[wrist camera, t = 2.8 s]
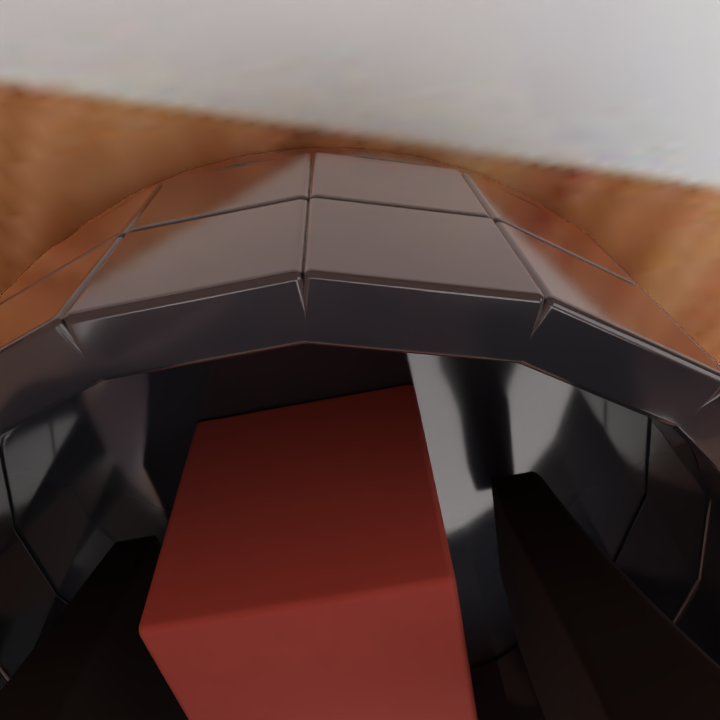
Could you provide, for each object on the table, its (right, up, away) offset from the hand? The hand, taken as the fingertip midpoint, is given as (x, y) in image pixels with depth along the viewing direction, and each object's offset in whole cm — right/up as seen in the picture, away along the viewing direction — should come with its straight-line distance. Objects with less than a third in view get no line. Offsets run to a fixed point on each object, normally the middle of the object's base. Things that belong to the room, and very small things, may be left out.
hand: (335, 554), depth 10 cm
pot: (0, +1, +1) cm, 1 cm away
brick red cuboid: (0, 0, +1) cm, 1 cm away
